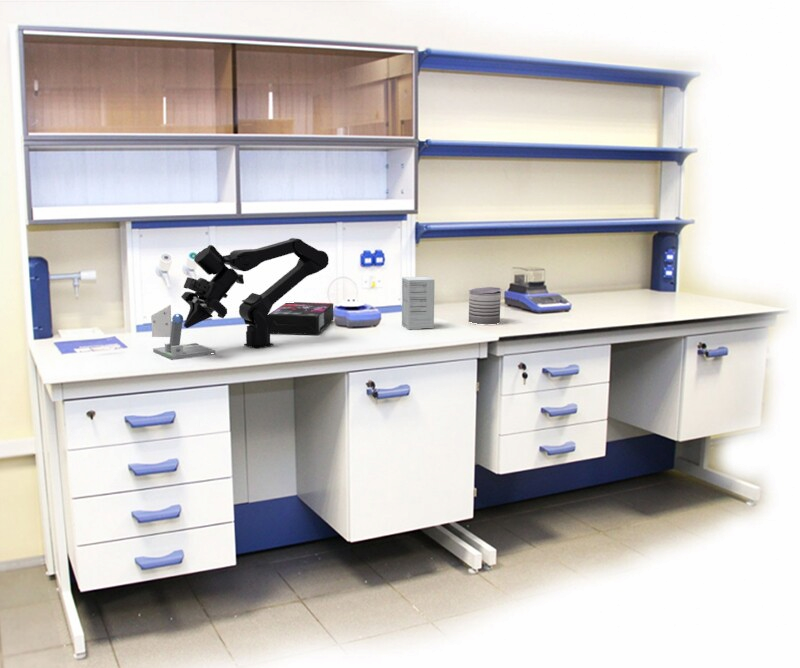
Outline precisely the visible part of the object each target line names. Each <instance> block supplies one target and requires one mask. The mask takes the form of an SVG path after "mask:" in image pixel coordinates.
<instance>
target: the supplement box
mask: <svg viewBox="0 0 800 668" xmlns="http://www.w3.org/2000/svg"><path fill="white" fill-rule="evenodd" d="M402 325H403V326H402ZM401 326H402V327H404V328H405V327H406V329H407V330H408V329H412V330H421V329H420V328H434V329H435V279H434V278H431V277H430V276H429V277H428V276H403V277H402V278H401Z"/></svg>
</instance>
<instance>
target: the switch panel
mask: <svg viewBox="0 0 800 668" xmlns="http://www.w3.org/2000/svg"><path fill="white" fill-rule="evenodd" d="M169 344H170V342H169V343H164V346H162V347H154V348H152V350H153V353H155V354H157V355H160V356H163V357H164V358H167V359H169V358H170V360H172V359H174V360H179V359H178V358H181V359H186V358H185V357H188V358H193V357H192V356H196V357H199V356H198V355H203V356H206V355H205V354H210V355H212V354H211V353H215V354H216V350H214V349H212V348H209V347H206V346H204V345H201V344H199V343H196V342H192V343H185V344H180V345H177V346H171V350H170V349H169Z"/></svg>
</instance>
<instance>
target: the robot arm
mask: <svg viewBox="0 0 800 668" xmlns="http://www.w3.org/2000/svg"><path fill="white" fill-rule="evenodd" d="M216 248H217V247H215V246H214V245H212V244H209V245H208V246H207V247H205V248H203V249H202V250H201V251H199V252H198V253H197V254H196V255H195V256H194V259H193V261H194V263H196V264H197V265H198V267H200V268H201V270H202V271H204V272H205V273H206V274H207V275H208V276H209V275H213V277H212V278H211V280H210V281H209V280H208V279H205V278H202V277H199V278H198V279H195V278H193V277H189V276H186V279H185V282H184V284H183V289H188V290H191V291H192V292H191V291H184V293H183V294H182V295H181V296H180V298H181V299H182V300H183V301H185V303H187V305H189V308H190V309H189V311H188V314H187V316H186V319H185V321H184V324H183V327H184V328H185V329H189V328H190V327H193V326H195V325H197V324H199V323H201V322H203V321H205V320H207V319H210V318H213V313H214V312H215V313H217V317H218V318H221V319H224V318H225V317H226V316H227V314H228V308H227V307H226V306H225V305H224V304H222V302H220V301H221V300H222V299H223V298H224V299H227V298H228V296H229V295H228V294H227V293H228V292H229V291H230V290H231V289H232V287H233V286H234V285H235V284H236V283H237V284H241V285H244V284H245V281H244V274H240V273H238V272H237V271H241V272H248V271H251V270H252V269H254V268H257V266H259V265H260V264H262V263H264V262H267V261H270V260H273V259H277V258H281V257H284V256H288V255H290V254H294V255H295V256H296V257H297V258H298V260H297V263H296V265H295V266H294V267H293V268H291V269H290V270H288V272H286V273H285V274H284V275H283V276H281V277H280V278H279V279H278V280H276V282H275V283H273V284H271V285H270V287H268V288H267V289H266V290H265V291H263V292H262V293H260V294H258V293H255V292H251V293H249V295H248V296H247V297H246V298H244V299H241V302H242V303H241V304H240V305H239V307H238V308H239V309H238V310H239V311H238V313H239V316H240V318H241V319H242V320H243V321H244V325H247V326H246V332H245V343H244V344H243V345H244V346H245V345H246V347H249V346H250V348H253V347H254V349H260V347H262V348H266V347H265V346H267V347H272V346H271V345H273V346H274V343H272V342H271V333H270V327H272V324H273V319H272V318H271V317H270V316H269V315H268V314H270V313H271V310H272V307H273V305H275V304H276V302H278V301H279V300H280V299H282V298H283V297H284V296H285V295H286V294H288V292H290V291H291V290H293V288H295V287H296V286H297V285H298V284H299V283H301V282H302V281H303V280H304V279H306V278H307V277H309V276H311V275H314V274H317V273H319V272H321V271H322V270H324V269H326V268H327V267H328V265H329V260H330V259H329V255H328V254H327V252H326V251H324V250H321V249H317V248H316V247H314V246H311V245H309V244H308V243H306V242H305V241H303V240H302V239H300V238H295V237H292V238H289V239H286V240H283V241H279V242H276V243H273V244H269V245H265V246H262V247H258V248H254V249H253V248H251V249H246V248H245V249H244V248H243V249H235V250H233V251H231V252H229V254H226V255H222V254H221V253H220V252H219V251H218V250H217V249H216ZM228 266H229V267H230V268H229V267H228Z"/></svg>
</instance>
